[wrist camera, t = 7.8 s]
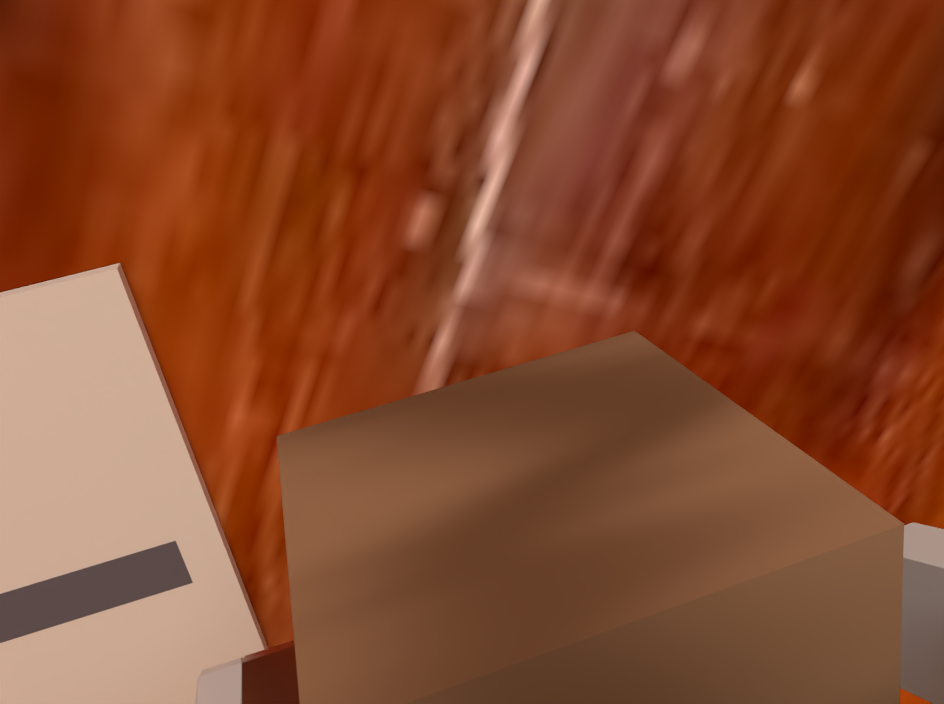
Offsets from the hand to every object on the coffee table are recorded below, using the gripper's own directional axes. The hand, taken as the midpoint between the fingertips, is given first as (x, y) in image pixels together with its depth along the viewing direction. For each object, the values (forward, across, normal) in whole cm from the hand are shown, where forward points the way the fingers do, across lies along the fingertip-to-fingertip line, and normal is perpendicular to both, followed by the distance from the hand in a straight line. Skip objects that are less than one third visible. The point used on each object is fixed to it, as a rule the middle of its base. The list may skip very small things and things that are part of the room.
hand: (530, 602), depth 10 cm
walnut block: (+2, 0, 0) cm, 2 cm away
